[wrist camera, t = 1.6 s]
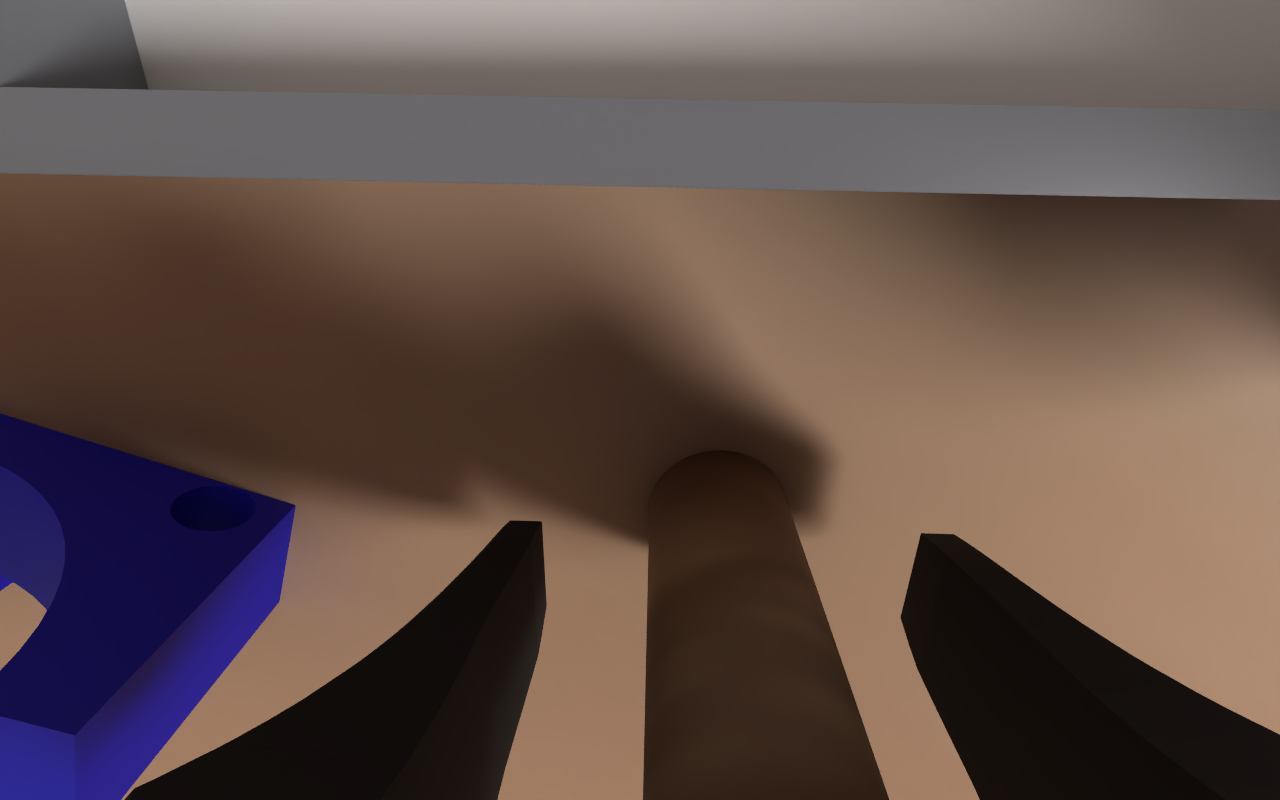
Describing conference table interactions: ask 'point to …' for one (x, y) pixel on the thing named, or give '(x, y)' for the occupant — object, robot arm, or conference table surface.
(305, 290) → the conference table surface
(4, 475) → the cable clip
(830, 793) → the peg
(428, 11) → the box
